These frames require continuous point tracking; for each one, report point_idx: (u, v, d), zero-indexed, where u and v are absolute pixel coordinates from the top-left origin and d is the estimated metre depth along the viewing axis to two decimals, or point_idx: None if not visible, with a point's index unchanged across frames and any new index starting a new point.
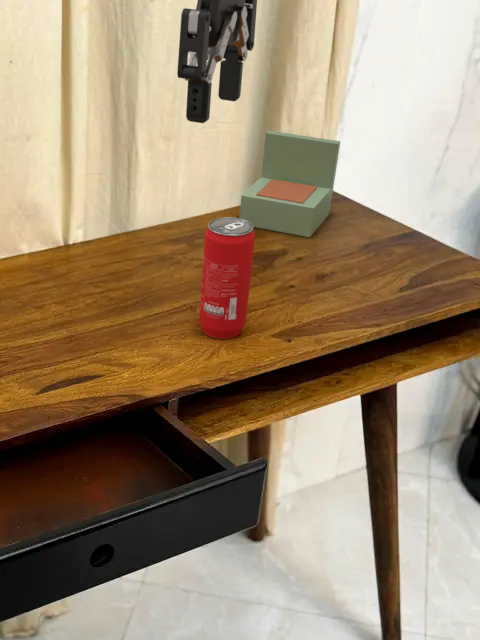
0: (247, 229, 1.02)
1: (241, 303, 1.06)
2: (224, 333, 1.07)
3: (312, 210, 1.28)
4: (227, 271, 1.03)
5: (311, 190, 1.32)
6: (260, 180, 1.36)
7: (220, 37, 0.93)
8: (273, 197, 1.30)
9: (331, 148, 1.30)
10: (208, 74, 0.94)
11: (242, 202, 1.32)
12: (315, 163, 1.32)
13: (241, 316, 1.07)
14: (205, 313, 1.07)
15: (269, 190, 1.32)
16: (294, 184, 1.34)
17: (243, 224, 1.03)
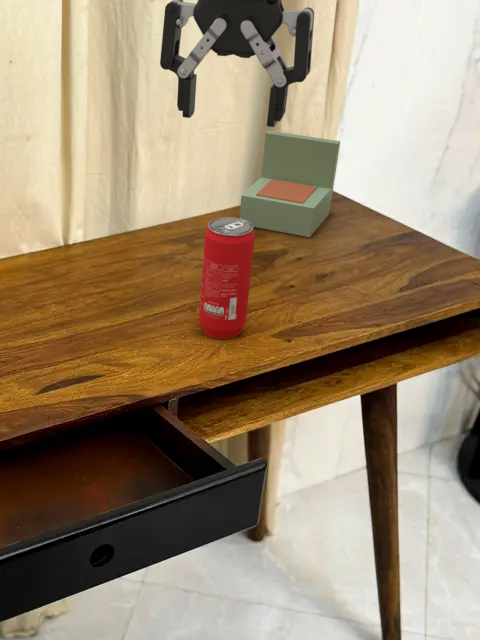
0: (247, 229, 1.02)
1: (241, 303, 1.06)
2: (224, 333, 1.07)
3: (312, 210, 1.28)
4: (227, 271, 1.03)
5: (311, 190, 1.32)
6: (260, 180, 1.36)
7: (201, 38, 0.93)
8: (273, 197, 1.30)
9: (331, 148, 1.30)
10: (179, 68, 0.96)
11: (242, 202, 1.32)
12: (315, 163, 1.32)
13: (241, 316, 1.07)
14: (205, 313, 1.07)
15: (269, 190, 1.32)
16: (294, 184, 1.34)
17: (243, 224, 1.03)
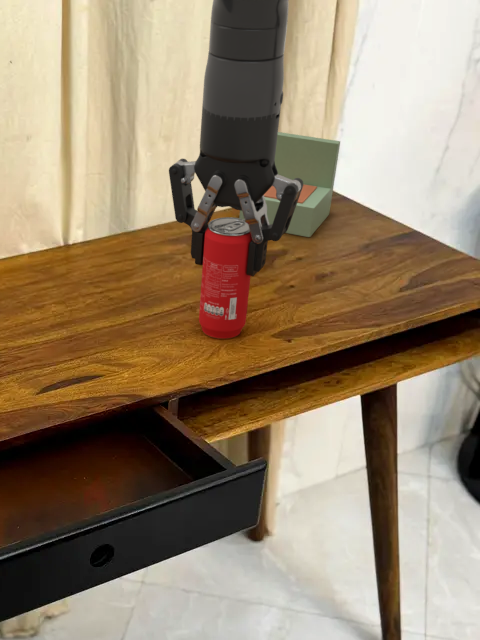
0: (247, 229, 1.02)
1: (241, 303, 1.06)
2: (224, 333, 1.07)
3: (312, 210, 1.28)
4: (227, 271, 1.03)
5: (311, 190, 1.32)
6: None
7: None
8: (273, 197, 1.30)
9: (331, 148, 1.30)
10: (192, 223, 1.03)
11: None
12: (315, 163, 1.32)
13: (241, 316, 1.07)
14: (205, 313, 1.07)
15: (269, 190, 1.32)
16: None
17: (243, 224, 1.03)
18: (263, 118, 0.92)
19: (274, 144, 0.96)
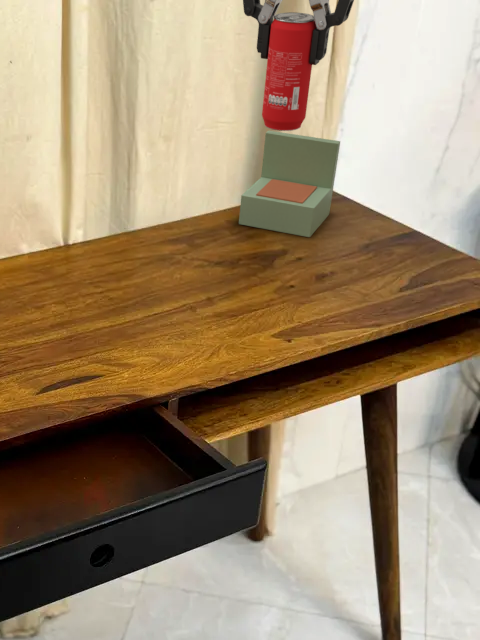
0: (310, 18, 1.11)
1: (303, 93, 1.15)
2: (286, 124, 1.17)
3: (312, 210, 1.28)
4: (291, 59, 1.12)
5: (311, 190, 1.32)
6: (260, 180, 1.36)
7: None
8: (273, 197, 1.30)
9: (331, 148, 1.30)
10: (259, 15, 1.12)
11: (242, 202, 1.32)
12: (315, 163, 1.32)
13: (302, 108, 1.16)
14: (269, 105, 1.17)
15: (269, 190, 1.32)
16: (294, 184, 1.34)
17: (306, 16, 1.12)
18: None
19: None
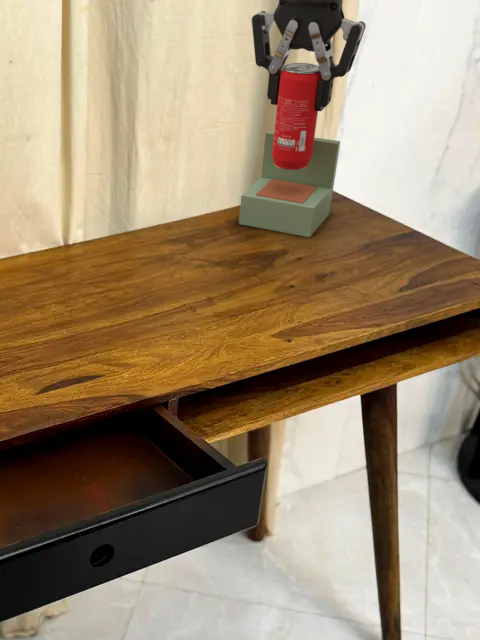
0: (316, 69, 1.22)
1: (310, 136, 1.26)
2: (294, 164, 1.28)
3: (312, 210, 1.28)
4: (299, 106, 1.23)
5: (311, 190, 1.32)
6: (260, 180, 1.36)
7: None
8: (273, 197, 1.30)
9: (331, 148, 1.30)
10: (270, 66, 1.23)
11: (242, 202, 1.32)
12: (315, 163, 1.32)
13: (309, 149, 1.27)
14: (278, 147, 1.27)
15: (269, 190, 1.32)
16: (294, 184, 1.34)
17: (312, 67, 1.23)
18: None
19: None
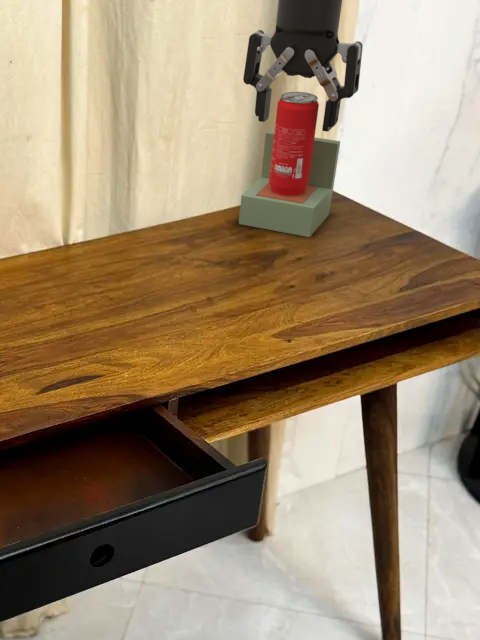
0: (313, 99, 1.24)
1: (306, 164, 1.28)
2: (291, 191, 1.30)
3: (312, 210, 1.28)
4: (296, 135, 1.25)
5: (311, 190, 1.32)
6: (260, 180, 1.36)
7: (275, 61, 1.22)
8: (273, 197, 1.30)
9: (331, 148, 1.30)
10: (258, 83, 1.25)
11: (242, 202, 1.32)
12: (315, 163, 1.32)
13: (305, 176, 1.29)
14: (275, 173, 1.29)
15: (269, 190, 1.32)
16: None
17: (309, 96, 1.25)
18: None
19: (338, 19, 1.18)
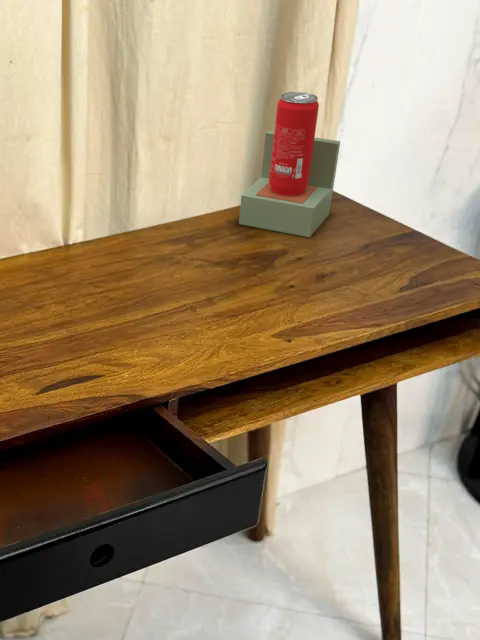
0: (313, 99, 1.24)
1: (306, 164, 1.28)
2: (291, 191, 1.30)
3: (312, 210, 1.28)
4: (296, 135, 1.25)
5: (311, 190, 1.32)
6: (260, 180, 1.36)
7: None
8: (273, 197, 1.30)
9: (331, 148, 1.30)
10: None
11: (242, 202, 1.32)
12: (315, 163, 1.32)
13: (305, 176, 1.29)
14: (275, 173, 1.29)
15: (269, 190, 1.32)
16: None
17: (309, 96, 1.25)
18: None
19: None
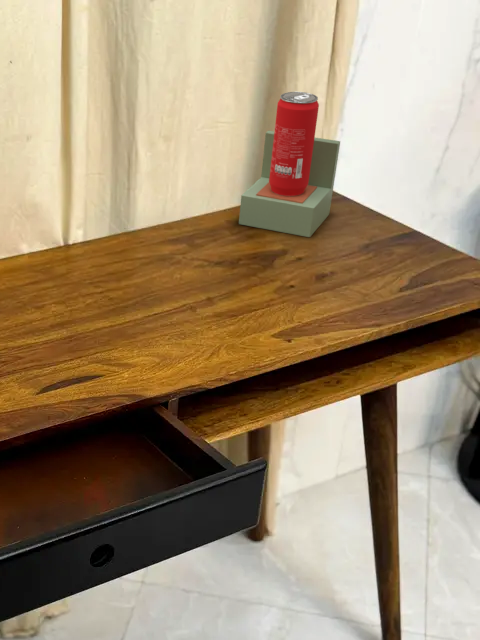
0: (313, 99, 1.24)
1: (306, 164, 1.28)
2: (291, 191, 1.30)
3: (312, 210, 1.28)
4: (296, 135, 1.25)
5: (311, 190, 1.32)
6: (260, 180, 1.36)
7: None
8: (273, 197, 1.30)
9: (331, 148, 1.30)
10: None
11: (242, 202, 1.32)
12: (315, 163, 1.32)
13: (305, 176, 1.29)
14: (275, 173, 1.29)
15: (269, 190, 1.32)
16: None
17: (309, 96, 1.25)
18: None
19: None
